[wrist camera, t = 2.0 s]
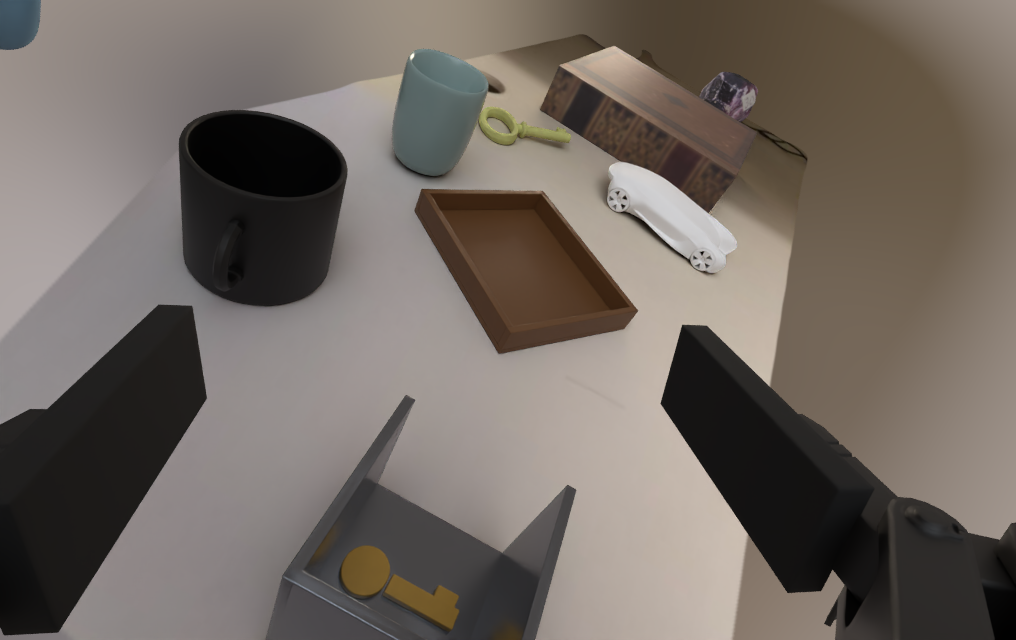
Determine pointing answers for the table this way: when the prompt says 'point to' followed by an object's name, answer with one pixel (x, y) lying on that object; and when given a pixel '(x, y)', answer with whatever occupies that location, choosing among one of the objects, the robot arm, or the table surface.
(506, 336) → the tray
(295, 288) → the mug
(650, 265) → the table surface
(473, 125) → the cup
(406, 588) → the brass key
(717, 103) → the mineral specimen
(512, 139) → the key
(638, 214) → the toy car
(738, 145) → the book
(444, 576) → the grey open-sided box
